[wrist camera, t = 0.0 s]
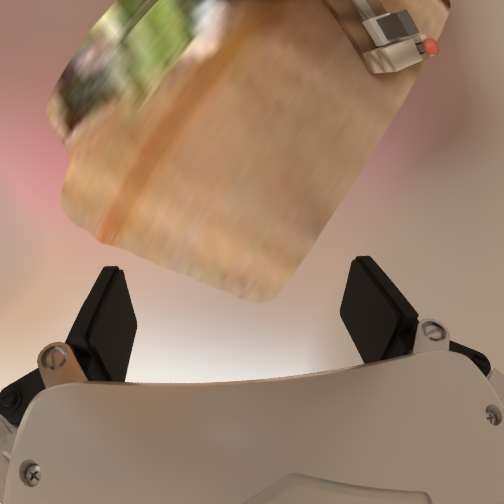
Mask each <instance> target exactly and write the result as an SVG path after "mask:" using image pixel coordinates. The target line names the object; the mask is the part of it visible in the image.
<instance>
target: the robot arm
mask: <svg viewBox="0 0 504 504" xmlns="http://www.w3.org/2000/svg"><path fill="white" fill-rule="evenodd" d="M340 316H341V318H342V320H343V322H344V324H345V326H346V328H347V330H348V332H349V334H350V335H351V338H352V340H353V342H354V343H355V345H356V348H357V350H358V352H359V353H360V355H361V358H362V360H363V361H364V364H362V365H358V366H352V367H347V368H341V369H337V370H330V371H325V372H317V373H310V374H303V375H297V376H288V377H279V378H270V379H259V380H247V381H234V382H213V383H133V382H125V378H126V373H127V368H128V364H129V359H130V355H131V351H132V346H133V342H134V338H135V334H136V330H137V320H136V317H135V313H134V310H133V306H132V303H131V299H130V295H129V291H128V288H127V284H126V280H125V276H124V272H123V270H119V268H118V266H106V267H104V268H103V269H102V271H101V273H100V275H99V277H98V278H97V280H96V282H95V284H94V286H93V288H92V289H91V291H90V293H89V295H88V297H87V299H86V300H85V302H84V304H83V306H82V307H81V309H80V312H79V314H78V316H77V318H76V320H75V322H74V324H73V326H72V328H71V331H70V333H69V335H68V337H67V339H66V341H65V343H62V342H55V343H52V344H49V345H48V346H46V347H45V348H44V349H43V350H42V351H41V352H40V354H39V356H38V360H37V363H38V367H39V368H37V369H35V370H34V371H32V372H30V373H29V374H27V375H25V376H24V377H22V378H20V379H18V380H17V381H15V382H13V383H12V384H10V385H8V386H7V387H5V388H4V389H3V390H2V391H1V392H0V503H1V504H504V375H503V374H502V373H500V372H499V371H497V370H496V369H495V368H494V369H493V370H491V367H490V362H489V360H488V359H487V358H486V356H485V355H484V354H482V353H480V352H478V351H475V350H473V349H470V348H468V347H465V346H463V345H460V344H458V343H455V342H453V341H450V340H449V338H450V335H449V331H448V330H447V328H446V327H445V326H444V325H443V324H442V323H440V322H439V321H437V320H434V319H423V320H421V321H420V322H419V321H418V319H417V318H418V313H417V312H416V311H415V309H414V308H413V307H412V306H411V304H410V303H409V302H408V301H407V299H406V298H405V297H404V296H403V294H402V293H401V292H400V291H399V289H398V288H397V287H396V286H395V285H394V283H393V282H392V281H391V280H390V279H389V277H388V276H387V275H386V274H385V273H384V272H383V270H382V269H381V268H380V267H379V266H378V265H377V264H376V262H375V261H374V260H373V259H372V258H371V257H370V256H357V257H356V258H355V260H353V261H352V263H351V267H350V271H349V275H348V280H347V284H346V288H345V292H344V296H343V300H342V304H341V308H340Z"/></svg>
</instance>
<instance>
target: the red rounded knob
mask: <svg viewBox="0 0 504 504" xmlns="http://www.w3.org/2000/svg"><path fill="white" fill-rule="evenodd" d="M416 47H417V49H418V51H419V53H422V52H426V53H427V54H429V55H437V54H438V53H439V46H438V44H437V42H436V41H435V40H433V39H431V38H429V39H424V40H423V42H422V43H419V44H416Z"/></svg>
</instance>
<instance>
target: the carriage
mask: <svg viewBox="0 0 504 504" xmlns="http://www.w3.org/2000/svg"><path fill="white" fill-rule="evenodd" d="M362 23H363V25H364V26H365V28H366V30H367V31H368V33H369V35H370V36H371V38H372V40H373V41H374V43H375V45H376V46H382V45H386V44H388V43H391V42H393V41H396V40H399V39H401V38H404V37H405V36H410V35H413V34H416V33H419V31H418V29H417V27H416V25H415V24H414V22H413V20H412V18H411V17H410V15H409V13H408V11H407V10H404V11H400V12H396V13H393V14H390V13H387V14H383V15H380V16H377V17H374V18H371V19H368V20H366V21H363V22H362Z"/></svg>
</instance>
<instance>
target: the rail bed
mask: <svg viewBox="0 0 504 504" xmlns="http://www.w3.org/2000/svg"><path fill="white" fill-rule="evenodd" d="M323 1H324V2H325V3H326V5H327V6H328V8H329V9H330V10H331V12H332V13H333V15H334V16H335V18H336V19H337V20H338V22H339V23H340V25H341V26H342V28H343V30H344V31H345V33H346V34H347V36H348V37H349V39H350V41H351V42H352V44H353V45H354V47H355V49H356V50H357V52H358V54H359V56H360V57H361V59H362V61H363V63H364V64H365V66H366V68H367V70H368V72H369V74H375V73H387V72H397V71H399V70H402V69H404V68H406V67H408V66H411V65H413V64H415V63H417V62H420V61H422V60H425V59H427V58H429V57H431V56H434V55H429V54H427V53H426V52H422V53H419V51H418V49H417V47H416V44H419V43H422V42H423V40H424V39H427V37H426V35H425V34H422V35H416V36H411V37H406V38H401V39H399V40H396V41H393V42H391V43H388V44H386V45H382V46H376V45H375V43H374V41H373V40H372V38H371V36H370V35H369V33H368V31H367V30H366V28H365V26H364V25H363V23H362V22H363V21H366V20H368V19H371V18H374V17H377V16H380V15H383V14H387V12H386V11H385V9H384V8H383V6H382V4H381V3H380V1H379V0H323Z"/></svg>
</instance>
